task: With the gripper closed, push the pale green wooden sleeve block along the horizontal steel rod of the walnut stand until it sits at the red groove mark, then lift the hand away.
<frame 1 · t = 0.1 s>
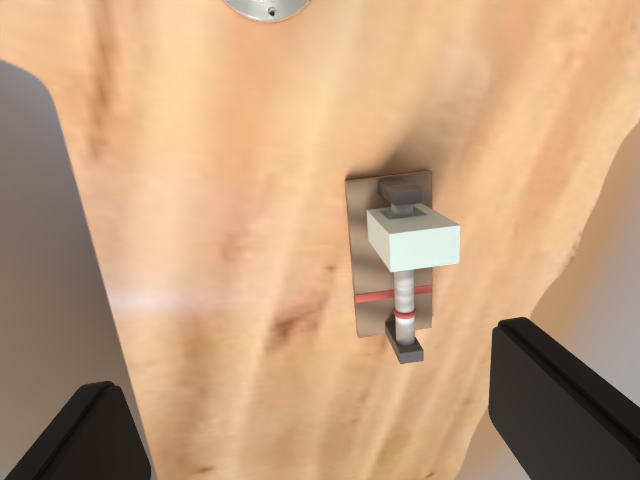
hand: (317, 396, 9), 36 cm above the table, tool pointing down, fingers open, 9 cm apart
rod stand: (390, 257, 47), on the table
sleeve block: (407, 233, 38), point 8 cm above the table, slide at -6.0 cm
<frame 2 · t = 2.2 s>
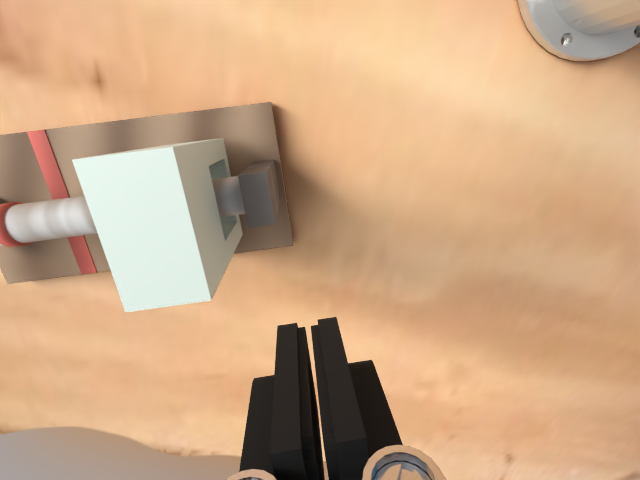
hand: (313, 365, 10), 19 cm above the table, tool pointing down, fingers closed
rod stand: (138, 195, 27), on the table
sleeve block: (183, 208, 19), point 8 cm above the table, slide at -6.0 cm
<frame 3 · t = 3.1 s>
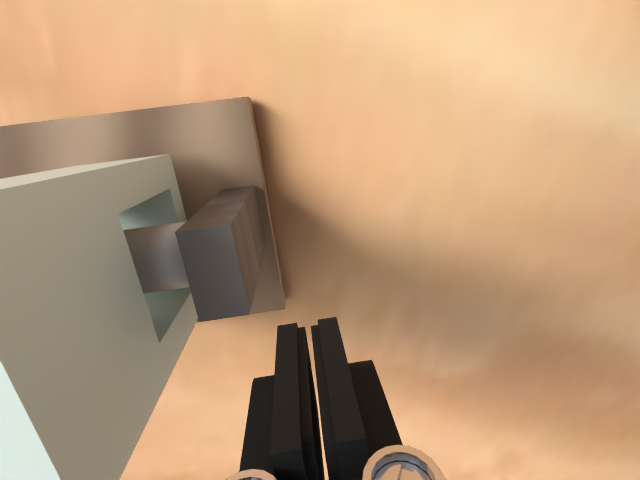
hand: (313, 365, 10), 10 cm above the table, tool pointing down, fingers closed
rod stand: (51, 237, 18), on the table
sleeve block: (79, 288, 11), point 8 cm above the table, slide at -6.0 cm
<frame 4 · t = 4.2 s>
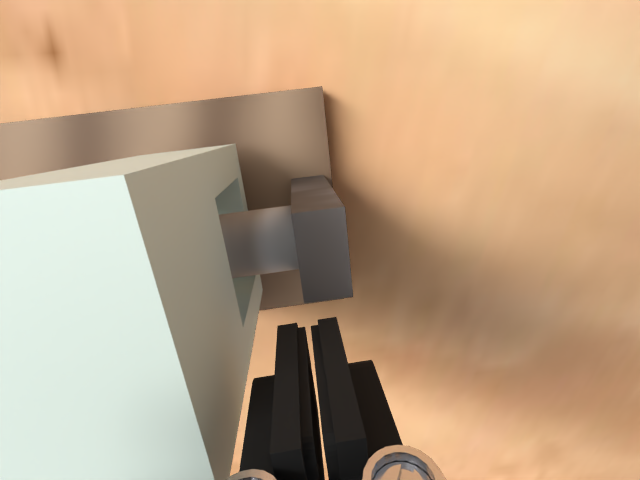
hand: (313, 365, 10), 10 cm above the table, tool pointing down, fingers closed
rod stand: (117, 226, 18), on the table
sleeve block: (168, 272, 11), point 8 cm above the table, slide at -5.4 cm, touching gripper
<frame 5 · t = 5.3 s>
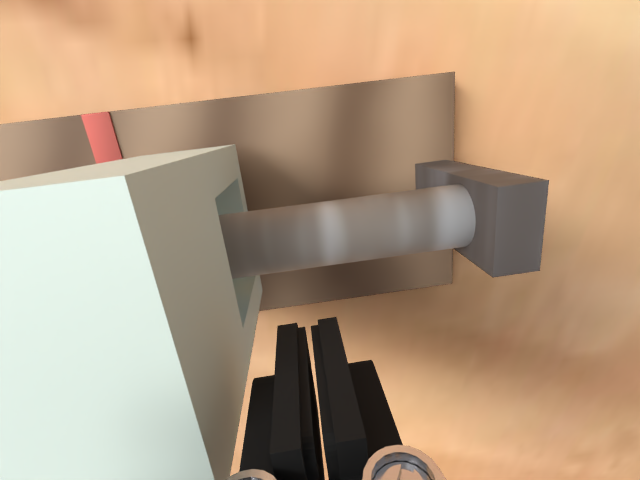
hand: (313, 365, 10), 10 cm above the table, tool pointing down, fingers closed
rod stand: (235, 211, 18), on the table
sleeve block: (168, 273, 11), point 8 cm above the table, slide at 0.9 cm, touching gripper
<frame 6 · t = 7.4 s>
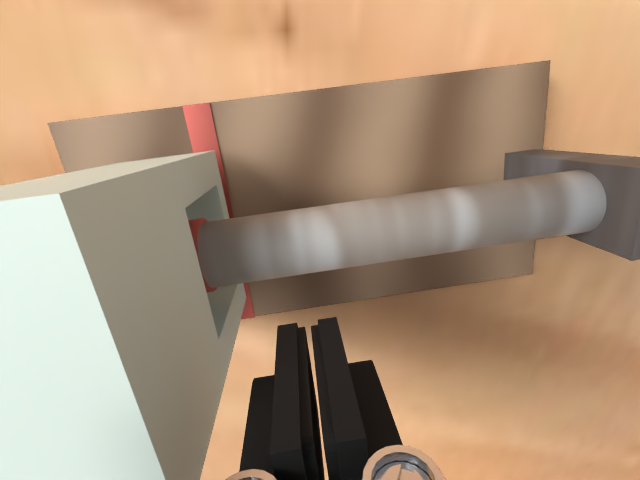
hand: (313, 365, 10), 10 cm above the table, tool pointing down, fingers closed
rod stand: (319, 203, 18), on the table
sleeve block: (140, 284, 10), point 8 cm above the table, slide at 6.3 cm
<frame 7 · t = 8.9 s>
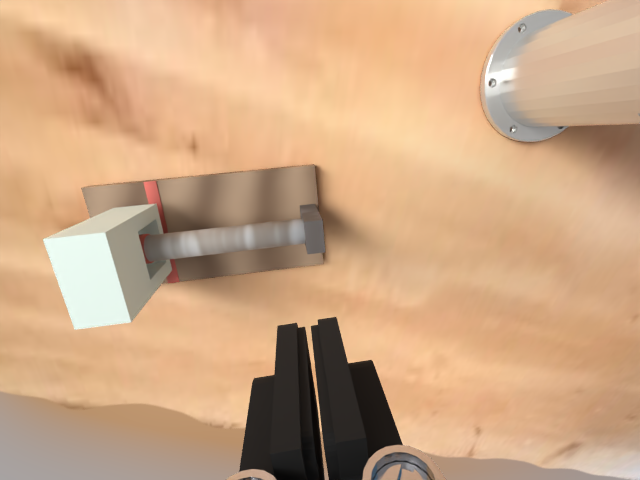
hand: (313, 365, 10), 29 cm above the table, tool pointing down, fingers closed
rod stand: (213, 225, 37), on the table
sleeve block: (121, 257, 29), point 8 cm above the table, slide at 6.3 cm
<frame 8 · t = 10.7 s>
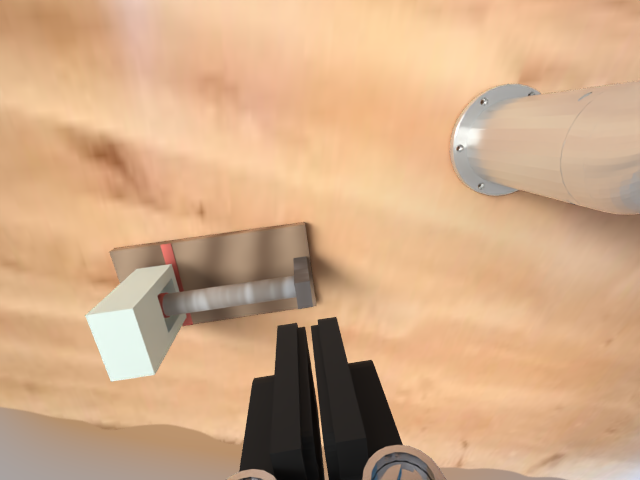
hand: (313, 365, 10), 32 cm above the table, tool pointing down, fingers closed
rod stand: (220, 276, 43), on the table
sleeve block: (144, 316, 35), point 8 cm above the table, slide at 6.3 cm
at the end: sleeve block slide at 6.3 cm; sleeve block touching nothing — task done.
